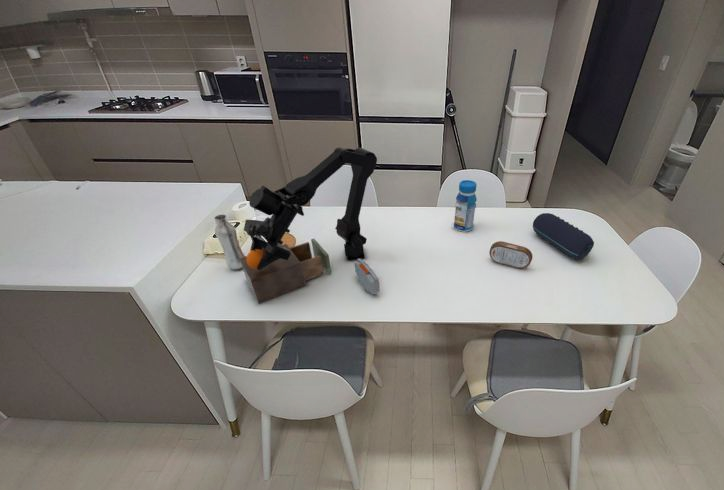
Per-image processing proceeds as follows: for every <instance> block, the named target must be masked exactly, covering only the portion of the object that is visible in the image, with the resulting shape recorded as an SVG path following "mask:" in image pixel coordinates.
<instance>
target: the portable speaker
mask: <svg viewBox="0 0 724 490" xmlns="http://www.w3.org/2000/svg"><path fill="white" fill-rule="evenodd" d="M532 229H533V231H534V233H535V234H536V235H537V236H538V237H540V238H541V239H543V240H544V241H546V242H547V243H548V244H550V245H552V246H553V247H555V248H557V249H558V251H559V250H560V251H561V252H562V253H564V254H565V255H566V256H568V257H570V258H572V259H574V260H576V261H581V260H583V259H585V257H587V256H588V255H589V254H590V253H591V251H592V249H593V248H594V246H595V245H594V244H595V242H594V239H593V238H592V236H591V235H589V234H588V233H586V232H584V230H583V229H579V228H578V227H577V226H574V224H571V223H570V222H569V221H565V219H563V218H561V217H560V216H557V215H555V214H554V213H549V212H544V213H540V214H538V215H537V216H536V217H535V218H534V220H533V222H532Z"/></svg>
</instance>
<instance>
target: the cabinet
mask: <svg viewBox="0 0 724 490" xmlns="http://www.w3.org/2000/svg"><path fill="white" fill-rule="evenodd" d="M282 245H283V246H285V247H286V248H287V249H288V250H289V251H290V253H291V256H290V257H289V259H288V260H285V259H278V260H276V261H274V262H272V263H271V264H269V265H267V266H266V267H264V268H263V269H261V270H256V269H252V268H251V267H249V265H248V264H247V261H246V258H247V255H246V256H245V257H243V258H239V259H240V262H241V265H242V268H241V269H242V270H243V273H244V276H245V279H246V282H247V284H248V286H249V287H250V289H251V292H252V293H253V296H254V298H255V299H256V302H257V304H262V303H265V302H267V301H269V300H272V299H276V298H278V297H281V296H282V295H285V294H288V293H291V292H295V291H296V290H299V289H302V288H304V287H306V286H307V285H306V280H305V279H304V275H303V271H302V266H301V263H300V261H299V260H298V259H297V257H296V256H295V255H294V253H293V252H292V251H291V249H290V248H291V247H289V245H288V243H284V244H282Z"/></svg>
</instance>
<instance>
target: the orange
mask: <svg viewBox="0 0 724 490" xmlns="http://www.w3.org/2000/svg"><path fill="white" fill-rule="evenodd" d="M246 256H247V258H246V261H247V264H248V265H249V267H251V268H252V269H256V270H258V269H257V266H258V264H259V262H260V260H261V258H262V256H263V250H260V249H254V250H252V251H251V250H250V251H249V252H248V254H247V255H246Z"/></svg>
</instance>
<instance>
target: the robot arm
mask: <svg viewBox="0 0 724 490" xmlns="http://www.w3.org/2000/svg"><path fill="white" fill-rule="evenodd" d="M377 163H378V157H377V156H376V154H375V153H374V152H373V151H370V150H367V149H365V148H363V147H357V148H355V149H353V148H345V147H344V148H343V147H336V148H334V150H333V152H332V153H330V154H329V155H328V156H326V158H324V159H323V160H322V161H321V162H320V163H319V164H317V166H315V167H314V168H312V170H310V171H309V172H308V173H306V174H305V175H302V176H298V177H296V178H294V179H293V180H291V181H289V182H288V183H286V185H285V186H283V187H281V188H279V189H276V190H274V191H273V190H271V189H269V188H268V187H267V186H265V185H261V187H260V188H258V189H256V190H255V191H254V192H252V194H251V195H250V197H249V206H250V207H251V208H252V209H255V210H257V211H258V212H261V213H263V214H265V215H266V216H267V218H266V219H265V221H259V220H251V219H245V222H244V226H243V231H244V232H246V234H247V235H248V236H249V237H250V239H251V247H250V251H252V250H254V249H260V250H263V256H262V258H261V260H260V262H259V264H258V266H257V269H258V270H261V269H263V268H264V267H266V266H267V265H269V264H271V263H272V262H274V261H276V260H278V259H285V260H288V259H289V257H290V256H291V253H290V251H289V250H288V249H287V248H286V247H285V246H283V245H284V244H283V243H284V241H283V240H282V239H283V238H284V235H286V233H287V234H289V233H290V232H291V230H290V229H289V228H290V226H291V224H292V223H293V222H294V220H295V218H296V216H297V215H300V216H301V217H304V216H305V214H304V213H305V212H304V209H303V206H306V205H307V204H308V203H309V202H310V201H311V200H312V199H313V198H314V196H315V195H316V192H317V190H318V188H319V187H320V186H321V185H322V184H324V183H325V182H326V181H327V180H328V179H329V178H330V177H332V176H333V175H334V174H335V173H336V172H338V171H339V170H340V169H341V168H342V167H343V166H345V165H346V164H349V165H350V167H351V172H352V179H351V183H350V188H349V193H348V197H347V202H346V208H345V213H344V215H343V216H342V218H337V220H336V226H335V228H334V229H335V230H336V234H337V236H338V237H339V238H340V239H342V240H344V244H343V246H344V247H343V249H344V254H345V255H344V256H345V257H346V261H357V259H359V258H360V259H362V260H364V259H365V258H366V256H365V252H364V245H366V244H367V237H365V236H364V235H362V234H361V223H360V220H359V219H360V214H361V209H362V205H363V200H364V195H365V192H366V187H367V183H368V180H369V178H370V177H371V175H372V174H373V173H374V171H375V169H376V166H377ZM269 216H270V217H269ZM268 217H269V218H268Z"/></svg>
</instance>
